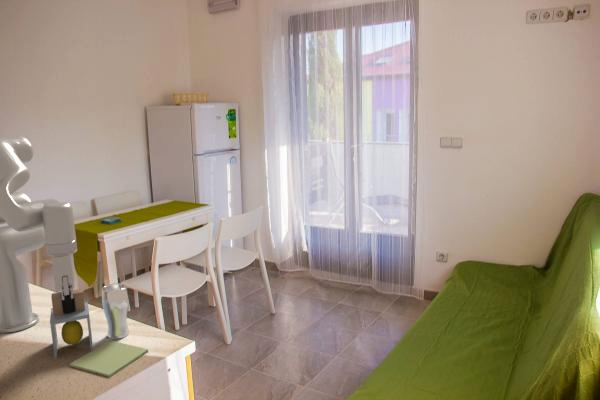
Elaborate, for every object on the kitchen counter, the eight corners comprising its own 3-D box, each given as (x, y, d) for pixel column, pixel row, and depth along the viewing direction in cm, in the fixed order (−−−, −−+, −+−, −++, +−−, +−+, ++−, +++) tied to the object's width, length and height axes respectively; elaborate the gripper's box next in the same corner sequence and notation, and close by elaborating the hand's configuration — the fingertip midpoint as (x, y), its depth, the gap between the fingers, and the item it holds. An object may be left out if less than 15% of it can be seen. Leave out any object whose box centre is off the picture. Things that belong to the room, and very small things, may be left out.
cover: (55, 341, 141) (48, 290, 138) (91, 334, 145) (85, 284, 142) (54, 357, 132) (47, 302, 129) (93, 349, 136) (86, 295, 133)
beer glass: (100, 338, 143) (95, 290, 140) (117, 328, 149) (112, 281, 146) (119, 341, 140) (114, 292, 137) (135, 331, 147) (131, 284, 144)
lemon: (76, 351, 136) (73, 324, 134) (58, 349, 137) (55, 323, 135) (88, 341, 141) (85, 315, 139) (71, 340, 142) (68, 314, 140)
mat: (70, 365, 128) (69, 363, 128) (110, 342, 140) (110, 340, 140) (109, 377, 122) (109, 375, 122) (148, 351, 134) (148, 349, 134)
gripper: (47, 242, 139) (55, 302, 142) (45, 257, 124) (54, 324, 128) (76, 238, 142) (83, 297, 145) (77, 253, 127) (84, 318, 131)
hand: (69, 309), depth 137 cm, fingers closed on cover, 3 cm apart
